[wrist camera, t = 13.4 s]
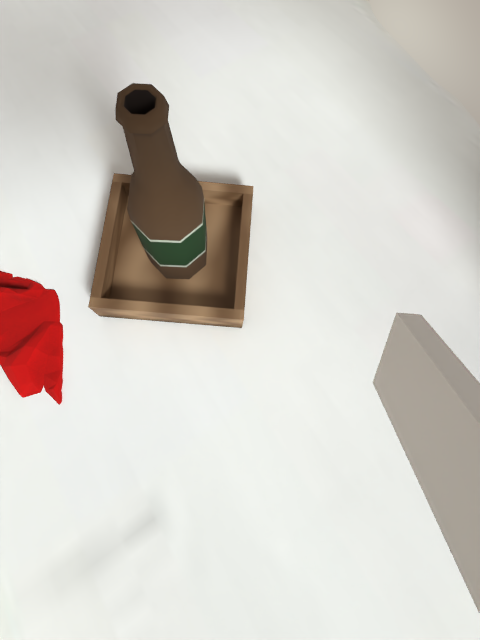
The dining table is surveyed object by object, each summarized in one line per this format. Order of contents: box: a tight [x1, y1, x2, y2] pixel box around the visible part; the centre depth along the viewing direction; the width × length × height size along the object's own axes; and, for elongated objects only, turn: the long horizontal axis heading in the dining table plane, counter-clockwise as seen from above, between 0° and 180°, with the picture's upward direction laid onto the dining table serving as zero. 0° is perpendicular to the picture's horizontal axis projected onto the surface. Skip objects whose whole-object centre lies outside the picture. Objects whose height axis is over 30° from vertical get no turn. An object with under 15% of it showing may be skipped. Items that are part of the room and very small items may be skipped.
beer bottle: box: [116, 83, 207, 279], centre depth 36 cm, size 8×8×24 cm
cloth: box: [0, 271, 63, 404], centre depth 45 cm, size 26×14×2 cm, turn 32°
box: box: [88, 173, 253, 328], centre depth 46 cm, size 18×18×4 cm
